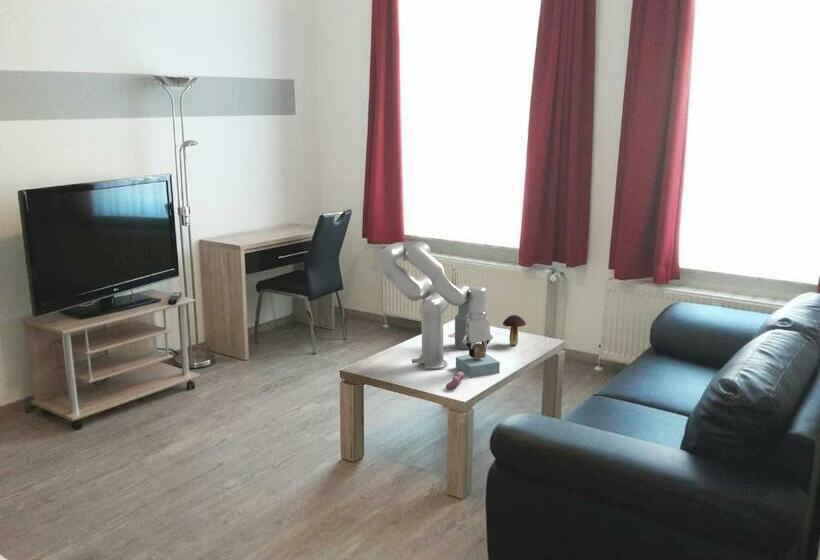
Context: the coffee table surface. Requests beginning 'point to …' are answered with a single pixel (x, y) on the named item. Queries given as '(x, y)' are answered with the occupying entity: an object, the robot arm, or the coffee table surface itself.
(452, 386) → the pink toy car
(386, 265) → the robot arm
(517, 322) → the decorative mushroom
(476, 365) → the block
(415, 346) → the coffee table surface
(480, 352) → the walnut cube
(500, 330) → the coffee table surface
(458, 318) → the water bottle
